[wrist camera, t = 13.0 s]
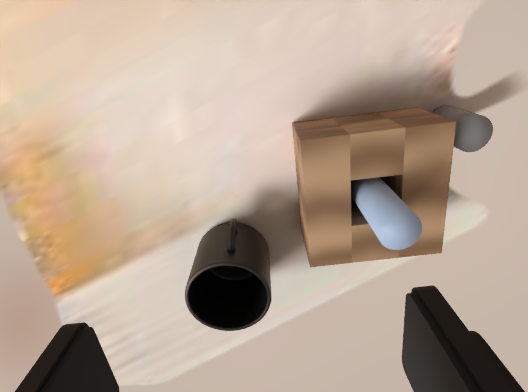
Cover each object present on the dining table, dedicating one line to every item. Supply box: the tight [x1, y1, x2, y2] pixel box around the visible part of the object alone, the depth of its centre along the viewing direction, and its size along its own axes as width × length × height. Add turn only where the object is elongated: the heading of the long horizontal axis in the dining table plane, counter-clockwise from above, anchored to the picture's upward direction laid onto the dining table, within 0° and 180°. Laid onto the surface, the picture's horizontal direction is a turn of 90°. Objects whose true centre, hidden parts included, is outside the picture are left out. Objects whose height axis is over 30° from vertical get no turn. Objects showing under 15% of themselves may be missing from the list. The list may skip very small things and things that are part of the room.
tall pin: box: [351, 177, 422, 250], centre depth 34 cm, size 4×4×14 cm
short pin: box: [432, 106, 493, 152], centre depth 35 cm, size 4×4×6 cm
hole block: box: [292, 108, 456, 267], centre depth 36 cm, size 14×14×8 cm
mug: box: [185, 219, 271, 331], centre depth 40 cm, size 9×12×9 cm
